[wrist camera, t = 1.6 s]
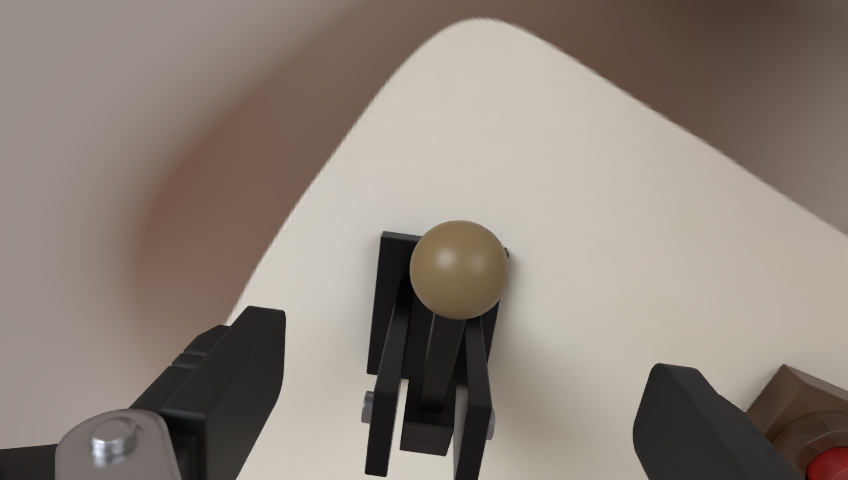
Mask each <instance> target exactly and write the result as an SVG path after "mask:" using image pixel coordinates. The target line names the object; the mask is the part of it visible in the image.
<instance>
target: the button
mask: <svg viewBox="0 0 848 480" xmlns="http://www.w3.org/2000/svg"><path fill="white" fill-rule="evenodd" d="M807 476H808V479H809V480H848V447H846V446H842V447H833V448H830V449H828V450H826V451H824V452H822V453H820V454H818V455H817V456H816V457H815V458H814V459H813V461H812V462H811V463H810V464H809V465H808V467H807Z"/></svg>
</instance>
